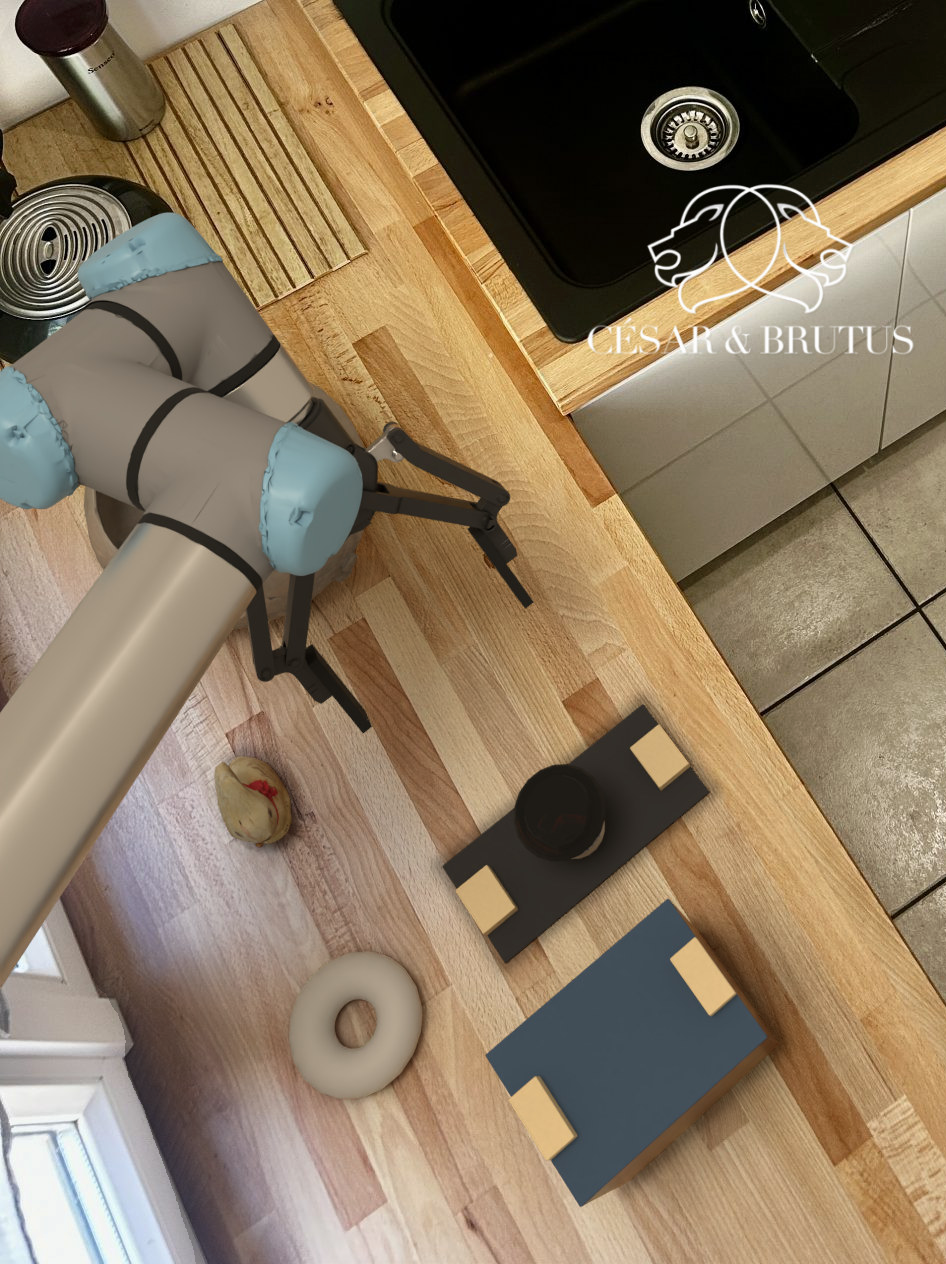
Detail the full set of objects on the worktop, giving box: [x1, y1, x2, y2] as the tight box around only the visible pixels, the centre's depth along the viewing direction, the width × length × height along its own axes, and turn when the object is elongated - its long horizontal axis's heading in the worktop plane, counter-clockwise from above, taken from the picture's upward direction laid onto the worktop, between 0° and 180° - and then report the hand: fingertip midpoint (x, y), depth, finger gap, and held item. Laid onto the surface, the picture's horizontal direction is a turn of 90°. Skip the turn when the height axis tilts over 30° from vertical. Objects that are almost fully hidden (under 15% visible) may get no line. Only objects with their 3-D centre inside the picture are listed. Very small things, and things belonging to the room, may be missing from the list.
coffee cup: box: [513, 763, 605, 861], centre depth 114 cm, size 7×7×10 cm
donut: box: [288, 950, 423, 1101], centre depth 112 cm, size 10×4×10 cm
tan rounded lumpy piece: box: [213, 755, 293, 848], centre depth 117 cm, size 6×8×10 cm
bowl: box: [83, 380, 366, 630], centre depth 126 cm, size 23×23×15 cm
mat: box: [442, 703, 710, 964], centre depth 118 cm, size 20×9×2 cm, turn 129°
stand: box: [582, 902, 780, 1207], centre depth 101 cm, size 14×10×24 cm
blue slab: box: [485, 898, 767, 1208], centre depth 89 cm, size 14×10×2 cm
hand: (446, 660), depth 105 cm, fingers open, 13 cm apart
